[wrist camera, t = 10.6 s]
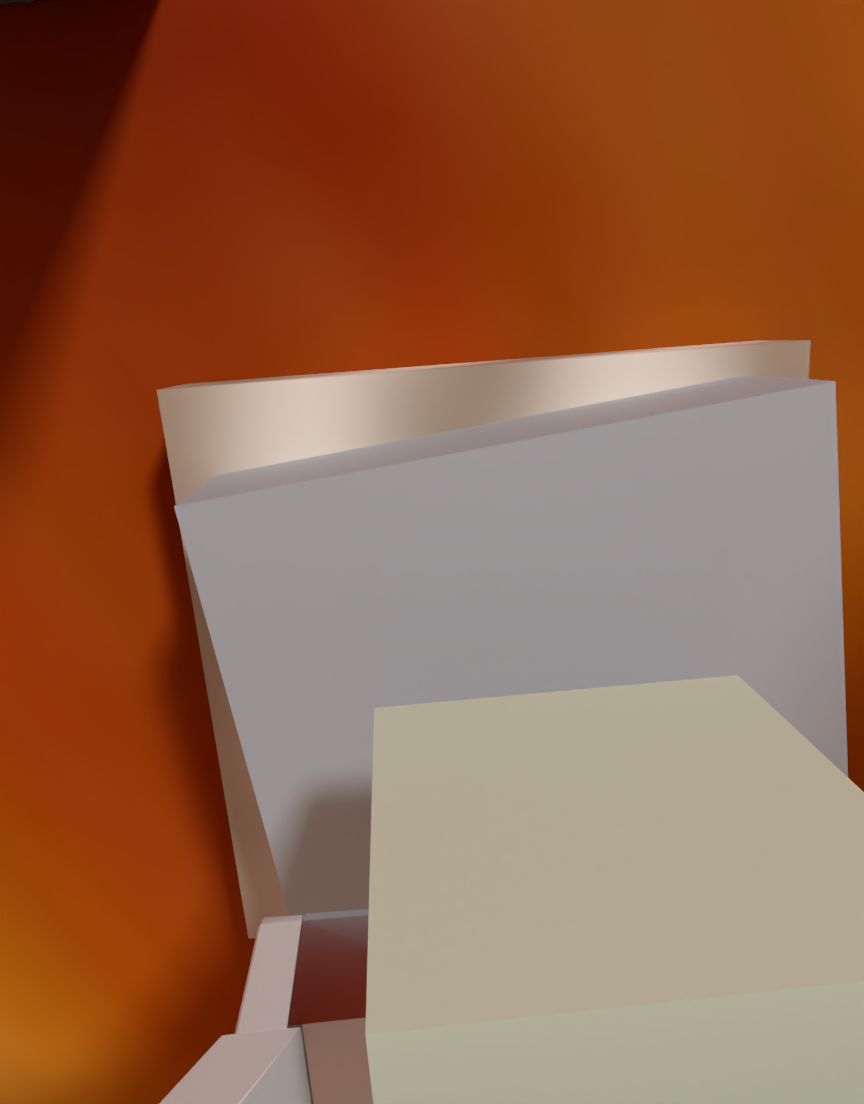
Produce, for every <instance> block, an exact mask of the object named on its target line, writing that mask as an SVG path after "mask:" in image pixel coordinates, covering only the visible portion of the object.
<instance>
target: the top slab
mask: <svg viewBox="0 0 864 1104" xmlns="http://www.w3.org/2000/svg"><path fill="white" fill-rule="evenodd" d="M174 509H175V512H176V516H177V519H178V523H179V526H180V530H181V534H182V537H183V541H184V544H185V548H186V551H187V555H188V558H189V562H190V565H191V569H192V573H193V576H194V580H195V583H196V587H197V590H198V594H199V597H200V601H201V604H202V608H203V612H204V615H205V619H206V622H207V626H208V629H209V633H210V636H211V640H212V643H213V647H214V651H215V654H216V658H217V661H218V665H219V668H220V672H221V675H222V679H223V682H224V686H225V690H226V693H227V697H228V700H229V704H230V707H231V711H232V714H233V718H234V721H235V725H236V729H237V732H238V736H239V739H240V743H241V746H242V750H243V753H244V757H245V760H246V764H247V768H248V771H249V775H250V778H251V782H252V785H253V789H254V792H255V796H256V799H257V803H258V807H259V810H260V814H261V817H262V821H263V824H264V828H265V831H266V835H267V838H268V842H269V846H270V849H271V853H272V856H273V860H274V863H275V867H276V870H277V874H278V877H279V881H280V885H281V888H282V892H283V895H284V899H285V902H286V906H287V909H288V913H289V916H292V915H305V914H308V913H321V912H334V911H347V910H360V909H369V880H370V842H371V805H372V767H373V730H374V708H378V707H389V706H400V705H411V704H422V703H433V702H444V701H455V700H466V699H477V698H488V697H499V696H511V695H522V694H533V693H544V692H555V691H566V690H577V689H588V688H599V687H610V686H621V685H633V684H644V683H655V682H666V681H677V680H688V679H699V678H710V677H721V676H732V675H738V676H739V677H740V678H741V679H743V680H744V681H745V682H746V683H747V684H748V685H749V686H750V687H751V688H752V689H753V690H754V691H755V692H757V693H758V694H759V695H760V696H761V697H762V698H763V699H764V700H765V701H766V702H767V703H768V704H769V705H771V706H772V707H773V708H774V709H775V710H776V711H777V712H778V713H779V714H780V715H781V716H782V717H783V718H785V719H786V720H787V721H788V722H789V723H790V724H791V725H792V726H793V727H794V728H795V729H796V730H797V731H799V732H800V733H801V734H802V735H803V736H804V737H805V738H806V739H807V740H808V741H809V742H810V743H811V744H812V745H814V746H815V747H816V748H817V749H818V750H819V751H820V752H821V753H822V754H823V755H824V756H825V757H826V758H828V759H829V760H830V761H831V762H832V763H833V764H834V765H835V766H836V767H837V768H838V769H839V770H840V771H842V772H843V773H844V774H845V775H846V776H847V777H848V758H847V727H846V696H845V665H844V634H843V603H842V572H841V541H840V510H839V479H838V448H837V417H836V386H835V381H826V380H814V379H802V378H790V377H778V376H766V375H754V374H749V375H744V376H739V377H733V378H728V379H723V380H717V381H712V382H707V383H702V384H696V385H691V386H686V387H680V388H675V389H670V390H664V391H659V392H654V393H649V394H643V395H638V396H633V397H627V398H622V399H617V400H612V401H606V402H601V403H596V404H590V405H585V406H580V407H574V408H569V409H564V410H559V411H553V412H548V413H543V414H537V415H532V416H527V417H522V418H516V419H511V420H506V421H500V422H495V423H490V424H485V425H479V426H474V427H469V428H463V429H458V430H453V431H447V432H442V433H437V434H432V435H426V436H421V437H416V438H410V439H405V440H400V441H395V442H389V443H384V444H379V445H373V446H368V447H363V448H357V449H352V450H347V451H342V452H336V453H331V454H326V455H320V456H315V457H310V458H305V459H299V460H294V461H289V462H283V463H278V464H273V465H268V466H262V467H257V468H252V469H246V470H241V471H236V472H230V473H225V474H220V475H215V476H213V477H212V478H211V479H209V480H208V481H207V482H205V483H204V484H203V485H202V486H200V487H199V488H198V489H196V490H195V491H194V492H192V493H191V494H190V495H188V496H187V497H186V498H184V499H183V500H182V501H180V502H179V503H178V504H176V505H175V506H174Z"/></svg>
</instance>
